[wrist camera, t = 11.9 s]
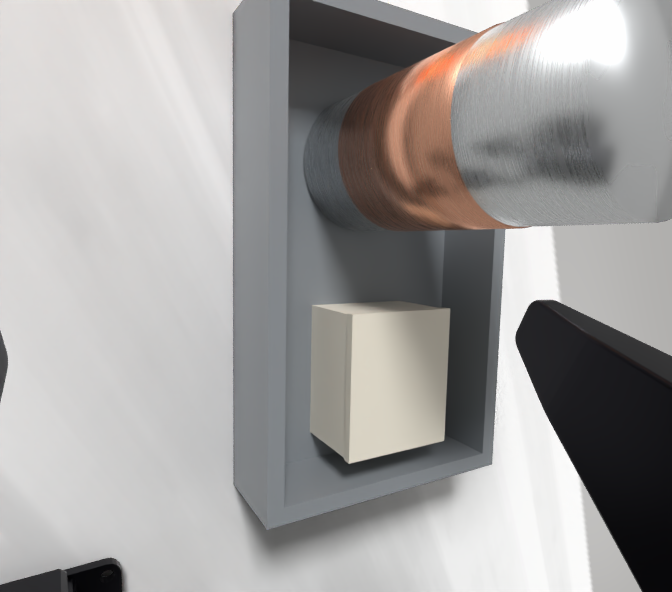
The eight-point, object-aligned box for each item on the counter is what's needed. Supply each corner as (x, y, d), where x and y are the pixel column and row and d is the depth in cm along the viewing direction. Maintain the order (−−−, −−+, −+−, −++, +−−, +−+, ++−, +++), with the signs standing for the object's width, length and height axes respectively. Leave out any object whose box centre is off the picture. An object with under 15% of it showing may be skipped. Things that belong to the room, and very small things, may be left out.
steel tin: (364, 259, 23) (655, 275, 12) (275, 164, 20) (547, 73, 9) (431, 168, 25) (743, 109, 14) (357, 69, 22) (672, -106, 11)
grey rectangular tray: (437, 436, 28) (491, 464, 24) (233, 483, 22) (267, 529, 18) (453, 71, 26) (515, 45, 22) (232, 13, 20) (270, -35, 16)
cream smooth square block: (396, 415, 25) (444, 440, 22) (309, 433, 23) (349, 463, 20) (400, 299, 25) (450, 308, 22) (311, 304, 22) (352, 314, 19)
